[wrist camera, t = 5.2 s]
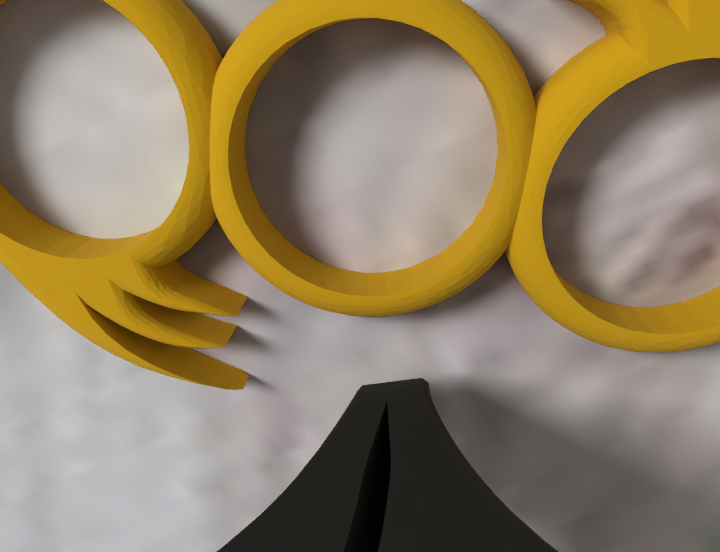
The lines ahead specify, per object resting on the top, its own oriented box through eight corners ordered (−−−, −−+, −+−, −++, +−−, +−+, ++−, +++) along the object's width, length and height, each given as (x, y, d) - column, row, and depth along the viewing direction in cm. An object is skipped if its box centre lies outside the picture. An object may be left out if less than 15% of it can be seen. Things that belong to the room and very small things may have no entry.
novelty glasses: (722, 427, 13) (943, -106, 9) (760, 476, 12) (1040, -131, 8) (-16, 326, 14) (-99, -216, 10) (-68, 361, 12) (-186, -258, 8)
